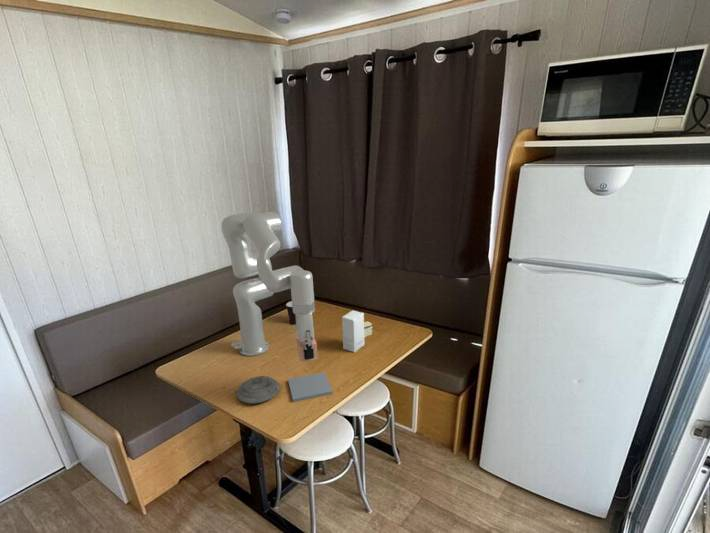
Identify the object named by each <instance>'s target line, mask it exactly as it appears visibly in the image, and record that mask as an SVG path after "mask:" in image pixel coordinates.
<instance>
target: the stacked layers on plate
mask: <svg viewBox="0 0 710 533" xmlns="http://www.w3.org/2000/svg"><path fill="white" fill-rule="evenodd" d="M372 325H373V323H371V322H370V321H364V338H366V337H368V336H371V335H373V332H374V331H373V326H372Z"/></svg>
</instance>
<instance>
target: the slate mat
mask: <svg viewBox="0 0 710 533" xmlns="http://www.w3.org/2000/svg"><path fill="white" fill-rule="evenodd" d="M287 382H288V386H289V391H290V394H291V398H292V403H294V402H299V401H305V400H308V399H314V398H318V397H319V398H320V397H323V396H327V395H332V394H333V389H332V387H331V385H330V382H329V379H328V377H327V375H326V373H325V371H323V372H317V373H314V374H307V375H302V376H297V377H292V378H288V379H287Z"/></svg>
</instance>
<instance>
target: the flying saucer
mask: <svg viewBox="0 0 710 533" xmlns="http://www.w3.org/2000/svg"><path fill="white" fill-rule="evenodd" d="M280 390H281V386H280V383H279V382H278V380H276V379H274V378H272V377H270V376H264V375H263V376H262V375H261V376H254V377H250V378H249V379H247V380H245V381H244V382H243V383H242V384H241V385H240V386H239V387H238V389H237V390H236V398H237V399H238V400H239V401H240V402H242V403H244V404H253V405H254V404H260V403H263V402H267V401H269V400H270V399H272V398H274V397H275V396H276V395H277V394H278V393H279V391H280Z"/></svg>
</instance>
